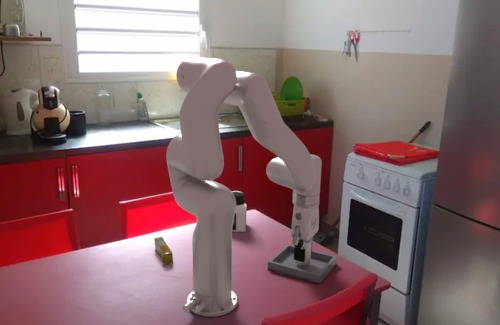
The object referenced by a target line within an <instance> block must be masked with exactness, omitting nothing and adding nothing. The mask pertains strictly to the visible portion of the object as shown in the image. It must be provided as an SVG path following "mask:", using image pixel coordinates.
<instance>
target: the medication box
mask: <svg viewBox="0 0 500 325" xmlns="http://www.w3.org/2000/svg"><path fill="white" fill-rule="evenodd" d="M153 239H154V248H155V251H156V252H157V254H158V256H159V258H160V259H161V261H162V263H163V264H164V266H168V265H173V264H174V259H173V256H174V255H173V252H172V250H171V248H170V247H169V246H168V244H167V242H166V241H165V239H164V237H163V236H158V237H155V238H153Z"/></svg>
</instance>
